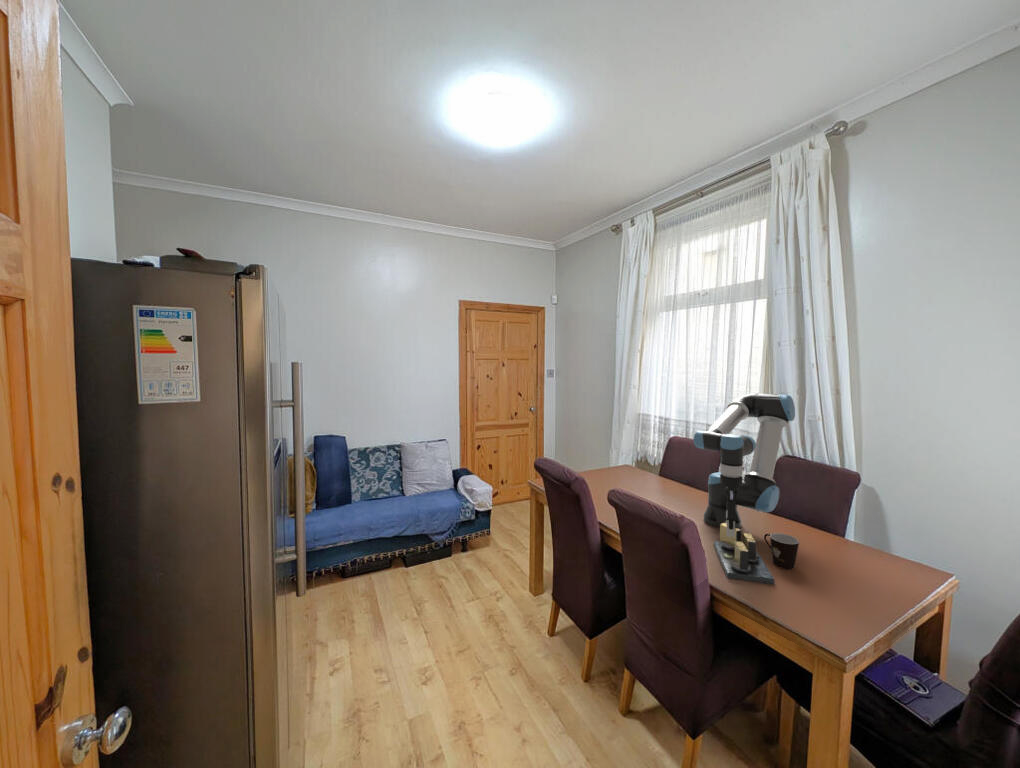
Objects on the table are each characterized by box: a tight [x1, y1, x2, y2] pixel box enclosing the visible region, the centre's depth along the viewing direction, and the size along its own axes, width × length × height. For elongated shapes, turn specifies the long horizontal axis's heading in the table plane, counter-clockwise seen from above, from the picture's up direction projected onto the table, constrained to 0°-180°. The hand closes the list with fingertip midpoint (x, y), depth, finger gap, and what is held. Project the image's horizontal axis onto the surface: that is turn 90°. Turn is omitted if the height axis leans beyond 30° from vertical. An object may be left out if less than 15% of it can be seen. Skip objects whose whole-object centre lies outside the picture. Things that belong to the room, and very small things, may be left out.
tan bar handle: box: [731, 541, 751, 573], centre depth 134 cm, size 7×6×8 cm
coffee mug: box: [763, 532, 800, 571], centre depth 141 cm, size 12×9×10 cm
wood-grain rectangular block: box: [742, 532, 759, 563], centre depth 140 cm, size 7×6×8 cm
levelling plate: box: [713, 540, 775, 585], centre depth 141 cm, size 24×14×3 cm, turn 162°
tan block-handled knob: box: [719, 523, 743, 551], centre depth 149 cm, size 7×6×8 cm
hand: (730, 531), depth 149 cm, fingers open, 9 cm apart
